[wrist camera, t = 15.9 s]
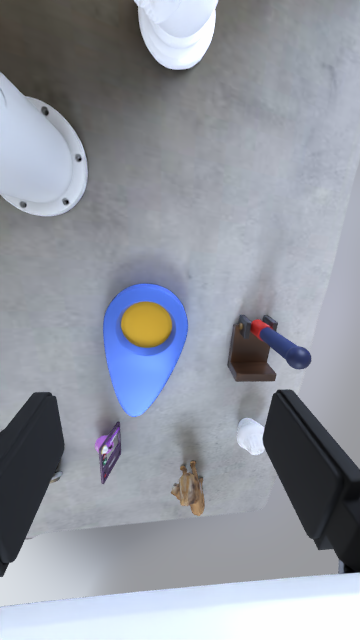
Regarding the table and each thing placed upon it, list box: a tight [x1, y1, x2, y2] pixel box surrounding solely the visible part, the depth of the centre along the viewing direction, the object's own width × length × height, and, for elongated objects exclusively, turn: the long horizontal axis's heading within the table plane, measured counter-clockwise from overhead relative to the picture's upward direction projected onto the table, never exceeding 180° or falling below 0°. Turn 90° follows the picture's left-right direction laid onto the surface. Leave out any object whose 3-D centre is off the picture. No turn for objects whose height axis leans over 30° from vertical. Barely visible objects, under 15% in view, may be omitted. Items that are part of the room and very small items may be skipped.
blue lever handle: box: [250, 319, 311, 369], centre depth 32 cm, size 14×3×3 cm
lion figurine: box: [171, 461, 205, 516], centre depth 49 cm, size 15×5×9 cm, turn 24°
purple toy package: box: [95, 422, 121, 484], centre depth 44 cm, size 7×5×9 cm
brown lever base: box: [228, 315, 278, 382], centre depth 39 cm, size 10×7×5 cm
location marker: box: [103, 284, 188, 417], centre depth 39 cm, size 13×3×25 cm
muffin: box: [237, 418, 265, 455], centre depth 45 cm, size 6×6×7 cm
